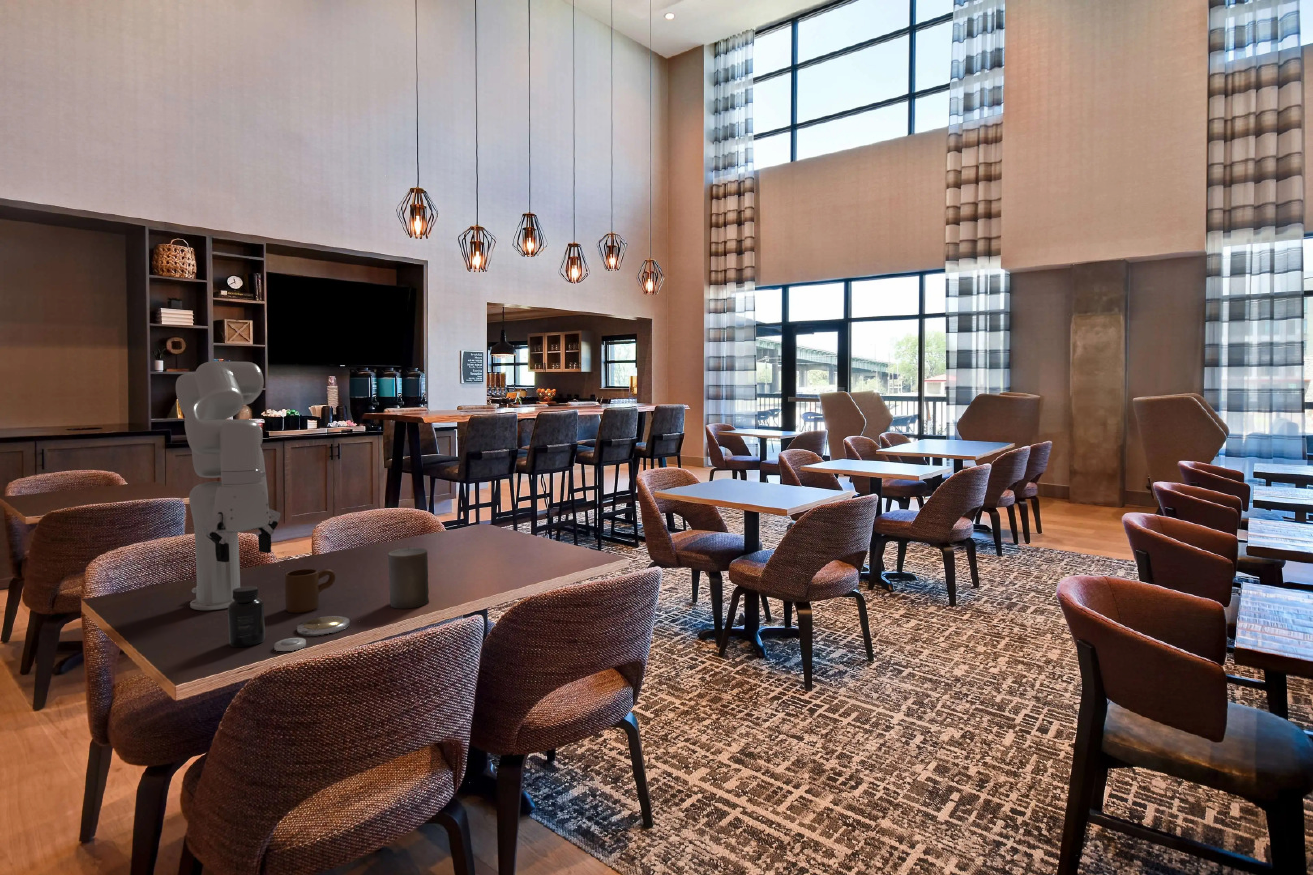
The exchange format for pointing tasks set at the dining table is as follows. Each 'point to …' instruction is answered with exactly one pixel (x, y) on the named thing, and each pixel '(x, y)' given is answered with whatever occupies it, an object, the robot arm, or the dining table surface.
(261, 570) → the dining table surface
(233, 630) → the supplement bottle
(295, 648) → the plastic flange
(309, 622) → the silver and gold coaster
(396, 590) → the pillar candle
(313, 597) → the mug
